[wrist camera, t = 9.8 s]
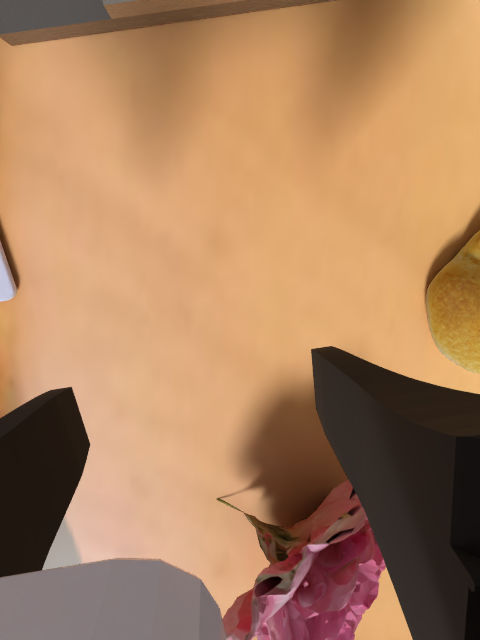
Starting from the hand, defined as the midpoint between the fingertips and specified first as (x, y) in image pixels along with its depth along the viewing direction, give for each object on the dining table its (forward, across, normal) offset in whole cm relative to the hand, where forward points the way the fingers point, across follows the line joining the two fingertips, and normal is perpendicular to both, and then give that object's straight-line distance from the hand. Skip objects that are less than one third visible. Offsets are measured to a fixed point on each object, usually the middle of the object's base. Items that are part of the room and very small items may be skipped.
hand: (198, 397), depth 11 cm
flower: (+10, -4, +16) cm, 19 cm away
